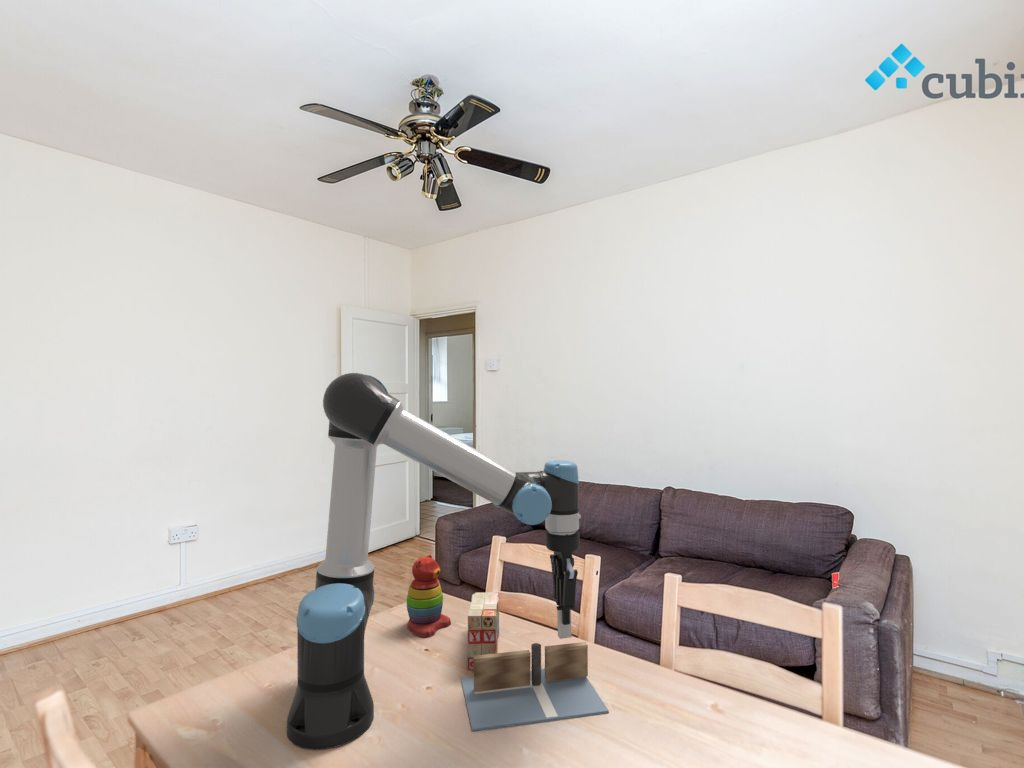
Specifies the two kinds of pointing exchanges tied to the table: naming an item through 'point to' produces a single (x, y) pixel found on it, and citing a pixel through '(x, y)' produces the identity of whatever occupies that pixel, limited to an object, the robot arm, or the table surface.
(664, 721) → the table surface
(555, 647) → the fence folding panel
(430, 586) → the stacking bear
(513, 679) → the fence fixed panel
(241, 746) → the table surface
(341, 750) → the table surface
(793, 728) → the table surface
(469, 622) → the stack of blocks
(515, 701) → the board
